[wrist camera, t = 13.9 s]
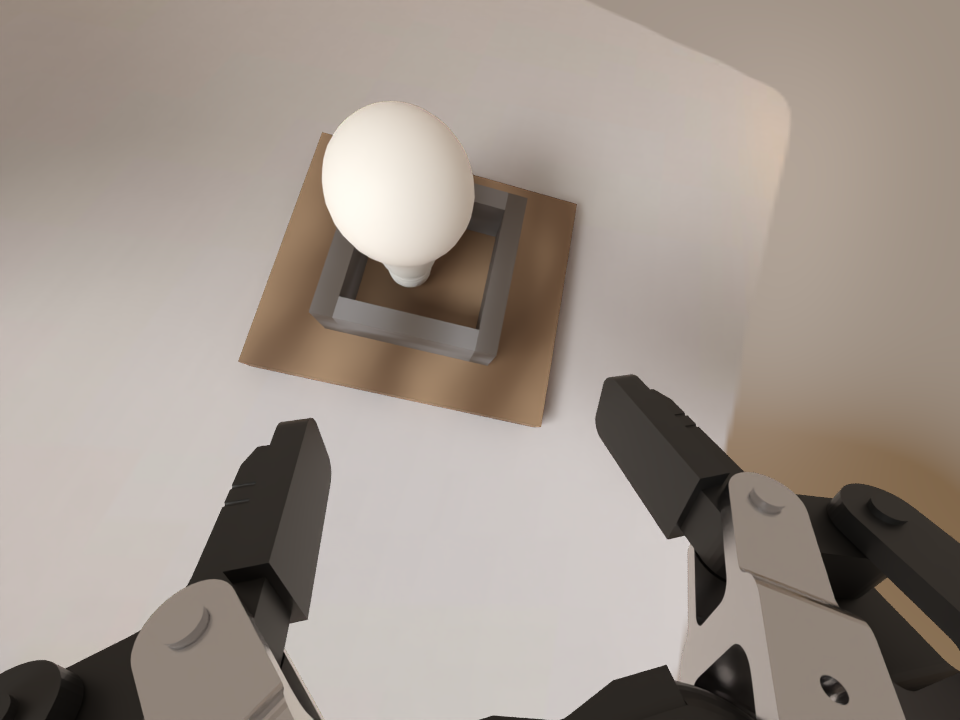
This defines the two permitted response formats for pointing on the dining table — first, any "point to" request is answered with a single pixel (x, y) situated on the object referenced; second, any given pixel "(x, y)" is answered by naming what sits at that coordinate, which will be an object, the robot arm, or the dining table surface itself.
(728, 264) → the dining table surface
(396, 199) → the lightbulb
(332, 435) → the dining table surface
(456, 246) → the bulb holder
